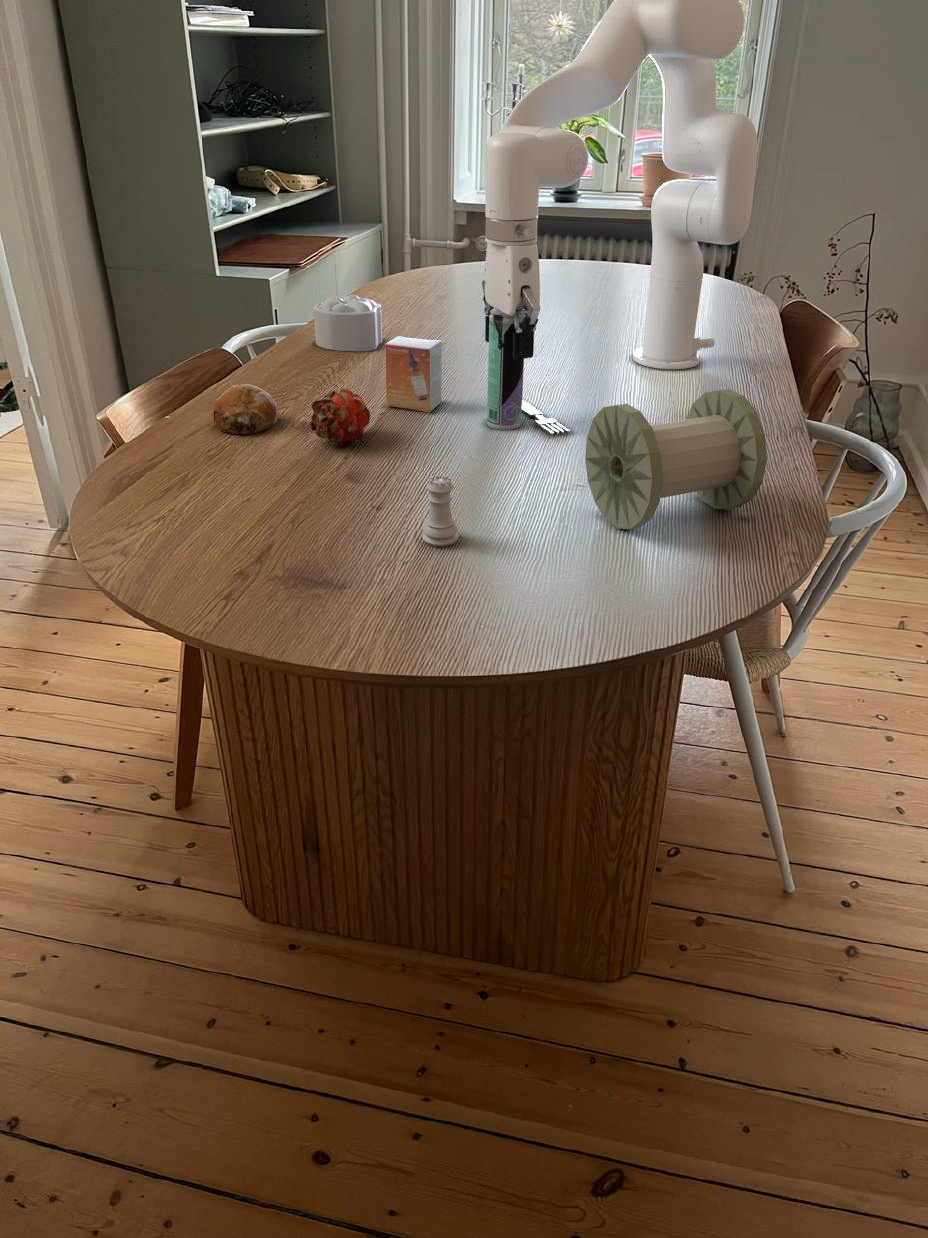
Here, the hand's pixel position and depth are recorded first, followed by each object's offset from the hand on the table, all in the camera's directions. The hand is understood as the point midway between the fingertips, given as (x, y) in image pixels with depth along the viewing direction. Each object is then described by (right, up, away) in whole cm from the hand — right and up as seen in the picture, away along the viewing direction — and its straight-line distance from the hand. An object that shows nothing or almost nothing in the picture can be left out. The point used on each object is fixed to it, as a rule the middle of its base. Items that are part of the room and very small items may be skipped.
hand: (508, 349), depth 144 cm
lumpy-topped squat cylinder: (-30, +14, +45) cm, 56 cm away
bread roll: (-41, -11, +5) cm, 43 cm away
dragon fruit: (-25, -14, -1) cm, 29 cm away
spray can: (0, -10, +6) cm, 12 cm away
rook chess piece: (-10, -32, -29) cm, 44 cm away
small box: (-15, -6, +13) cm, 21 cm away
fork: (+5, -9, +9) cm, 13 cm away
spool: (+19, -28, -22) cm, 40 cm away
